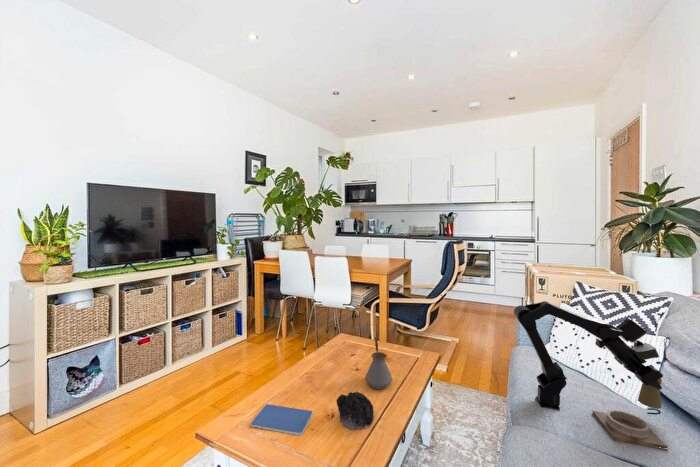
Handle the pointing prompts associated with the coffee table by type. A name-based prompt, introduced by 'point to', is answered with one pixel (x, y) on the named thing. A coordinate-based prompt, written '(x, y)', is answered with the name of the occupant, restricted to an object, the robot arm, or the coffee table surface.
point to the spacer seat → (628, 428)
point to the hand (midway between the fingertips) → (655, 384)
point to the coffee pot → (378, 371)
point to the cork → (650, 396)
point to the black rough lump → (355, 410)
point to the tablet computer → (283, 419)
